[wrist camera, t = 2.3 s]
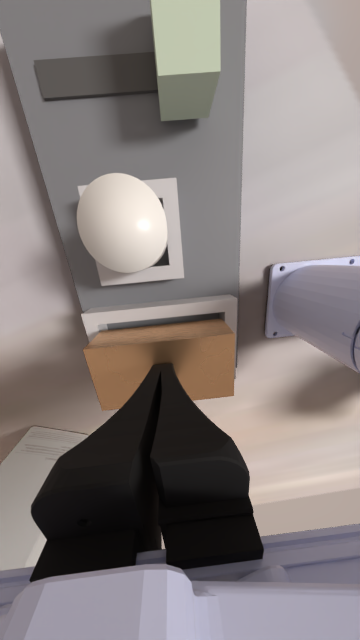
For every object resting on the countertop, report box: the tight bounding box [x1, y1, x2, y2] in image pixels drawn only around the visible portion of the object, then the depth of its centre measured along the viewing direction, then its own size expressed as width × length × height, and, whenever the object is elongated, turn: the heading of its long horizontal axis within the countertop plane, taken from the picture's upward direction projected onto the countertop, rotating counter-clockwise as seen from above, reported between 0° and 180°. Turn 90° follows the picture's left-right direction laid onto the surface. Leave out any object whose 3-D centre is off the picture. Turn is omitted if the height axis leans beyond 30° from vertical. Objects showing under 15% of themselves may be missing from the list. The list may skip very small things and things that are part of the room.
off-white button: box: [77, 173, 168, 273], centre depth 10 cm, size 4×4×3 cm
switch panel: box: [0, 0, 247, 379], centre depth 14 cm, size 14×26×4 cm, turn 5°
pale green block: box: [150, 0, 221, 121], centre depth 9 cm, size 3×5×3 cm, turn 5°
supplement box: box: [0, 426, 88, 571], centre depth 18 cm, size 7×7×13 cm
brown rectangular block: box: [83, 319, 235, 411], centre depth 13 cm, size 10×5×3 cm, turn 95°
